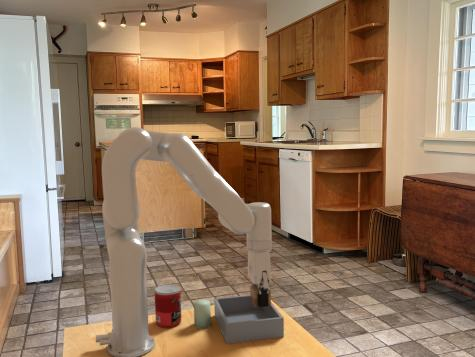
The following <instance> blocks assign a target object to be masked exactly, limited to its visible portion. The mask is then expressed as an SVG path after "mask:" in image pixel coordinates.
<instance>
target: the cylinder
mask: <svg viewBox="0 0 475 357" xmlns="http://www.w3.org/2000/svg"><path fill="white" fill-rule="evenodd" d="M211 318H212V314H211V301H210V300H208V299H198V300H194V301H193V320H194V322H193V324H194V327H195V328H196V329H208V328H209V327H211V325H212V319H211Z"/></svg>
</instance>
